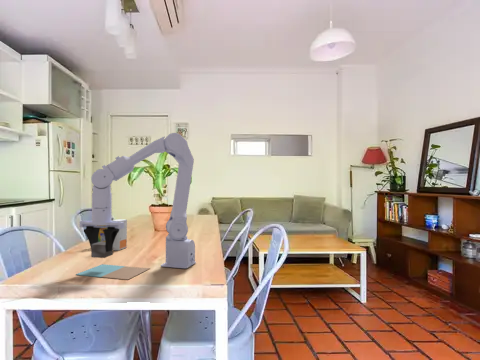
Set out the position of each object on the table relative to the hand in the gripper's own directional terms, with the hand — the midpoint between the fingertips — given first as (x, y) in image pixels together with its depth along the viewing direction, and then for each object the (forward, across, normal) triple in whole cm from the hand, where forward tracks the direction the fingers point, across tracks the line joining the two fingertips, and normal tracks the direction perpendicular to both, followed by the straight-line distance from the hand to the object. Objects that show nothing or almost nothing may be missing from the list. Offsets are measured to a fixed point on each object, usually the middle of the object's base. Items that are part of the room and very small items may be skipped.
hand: (101, 250), depth 104 cm
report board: (+6, -4, 0) cm, 8 cm away
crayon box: (+7, +21, -34) cm, 41 cm away
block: (+2, 0, 0) cm, 2 cm away
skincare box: (+7, +13, -30) cm, 33 cm away
